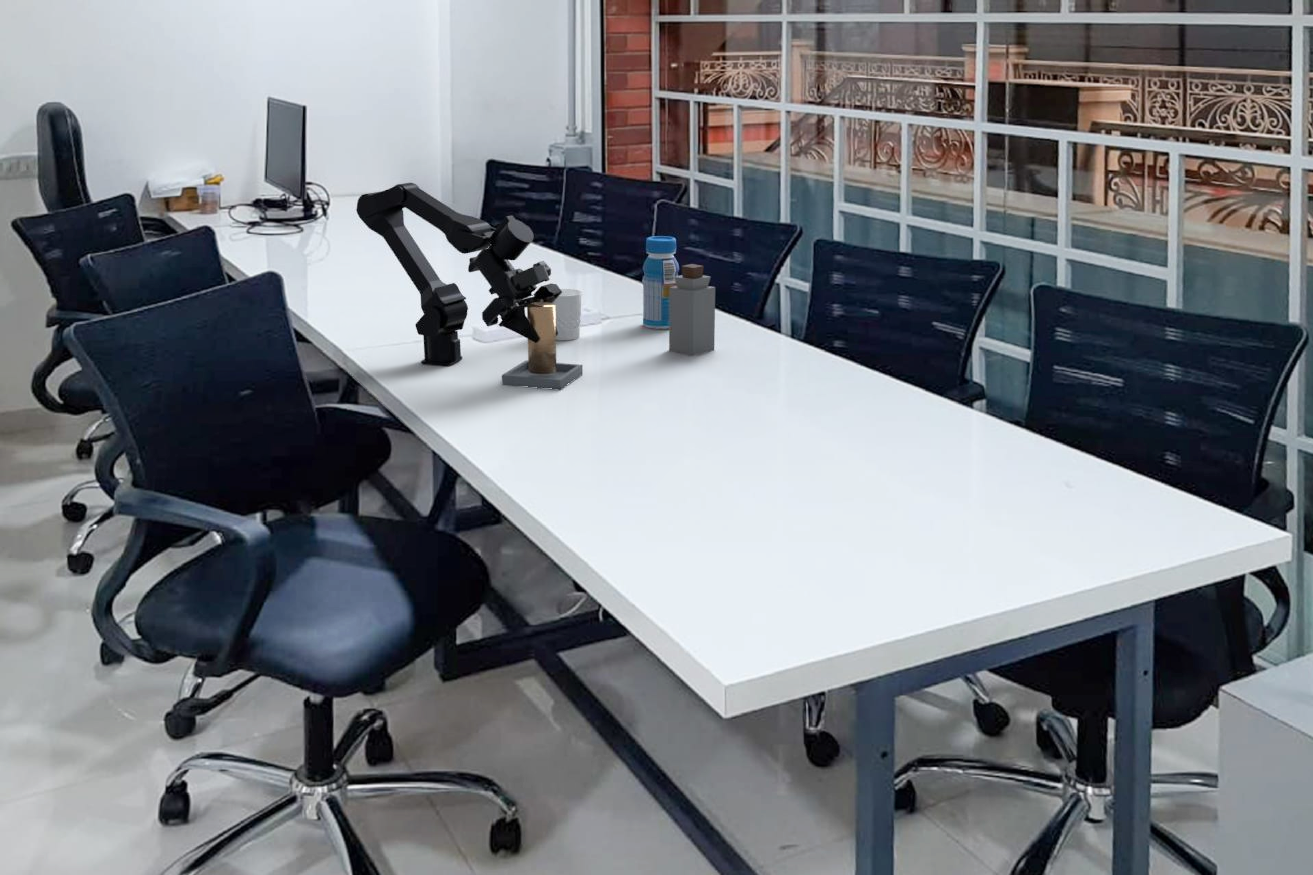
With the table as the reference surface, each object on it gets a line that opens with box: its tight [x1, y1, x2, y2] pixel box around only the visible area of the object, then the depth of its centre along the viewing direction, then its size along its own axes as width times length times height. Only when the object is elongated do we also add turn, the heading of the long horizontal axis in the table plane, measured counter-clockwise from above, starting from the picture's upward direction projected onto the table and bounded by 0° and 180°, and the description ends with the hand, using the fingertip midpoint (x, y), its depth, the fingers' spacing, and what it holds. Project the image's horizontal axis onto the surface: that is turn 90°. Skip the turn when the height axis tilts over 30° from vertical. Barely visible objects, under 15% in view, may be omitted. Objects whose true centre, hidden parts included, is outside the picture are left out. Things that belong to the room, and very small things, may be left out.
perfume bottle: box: [668, 263, 716, 357], centre depth 290 cm, size 7×7×18 cm
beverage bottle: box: [641, 235, 680, 330], centre depth 311 cm, size 8×8×20 cm
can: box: [526, 302, 557, 374], centre depth 267 cm, size 5×5×13 cm
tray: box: [501, 359, 584, 391], centre depth 269 cm, size 12×12×2 cm
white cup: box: [553, 288, 582, 341], centre depth 302 cm, size 8×8×10 cm
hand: (547, 338), depth 266 cm, fingers closed on can, 5 cm apart
